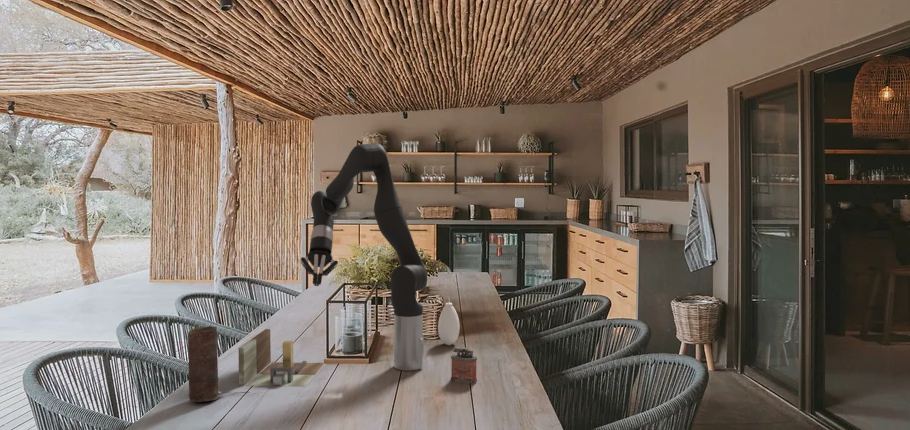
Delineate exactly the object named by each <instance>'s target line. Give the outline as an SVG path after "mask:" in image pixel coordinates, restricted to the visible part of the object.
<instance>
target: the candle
mask: <svg viewBox="0 0 910 430" xmlns="http://www.w3.org/2000/svg"><path fill="white" fill-rule="evenodd" d="M217 333H218V330H217V326H211V325H210V326H196V327H193V329H191V330H190V331H188V333H187V346H188V347H187V349H188V351H187V352H188V353H187V355H188V356H187V357H188V360H187V362H188V399H189V401H191V402H198V403H204V402H209V401H216V400H218V399H219V395H220V394H219V370H218V369H219V366H218V361H219V360H218V334H217Z"/></svg>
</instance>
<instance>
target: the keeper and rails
mask: <svg viewBox="0 0 910 430" xmlns="http://www.w3.org/2000/svg"><path fill="white" fill-rule="evenodd" d="M300 363H301V364H300V365H299V366H298V367H297V368H296V369H295V374H298V373H299V372H300V371H301V370H302V369H303V368H304V367H305V366H306V363H307V361H306V360H303V361H301V362H300ZM276 371H277V372H287V378H288V383H291V382H292V381H293V366H272V367H271V368H270V374H269V375H270V382H273V377H274V376H275V375H276Z"/></svg>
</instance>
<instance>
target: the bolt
mask: <svg viewBox="0 0 910 430" xmlns="http://www.w3.org/2000/svg"><path fill="white" fill-rule="evenodd" d="M282 362H283V366H293V363H294V341H293V340H284V341H283V342H282ZM287 379H288V378H287V372H278V373H277V374H276V375H275V376H274V377H273V385H282V384H283V383H284V382H285V381H286V380H287Z"/></svg>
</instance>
